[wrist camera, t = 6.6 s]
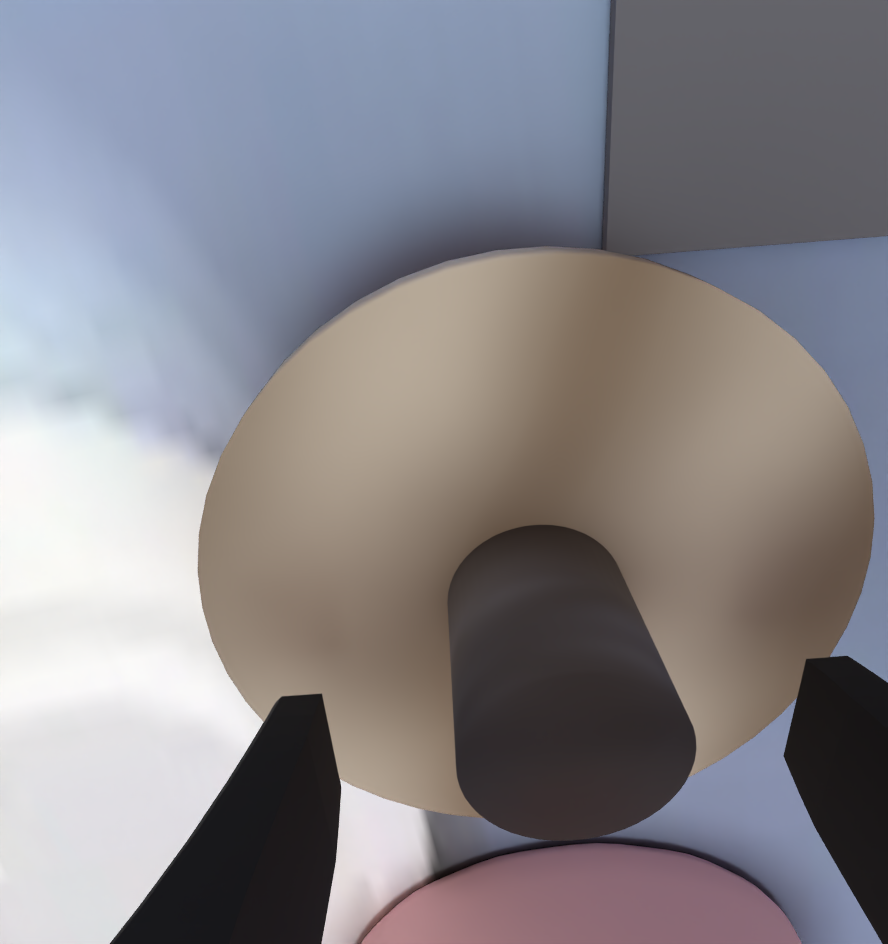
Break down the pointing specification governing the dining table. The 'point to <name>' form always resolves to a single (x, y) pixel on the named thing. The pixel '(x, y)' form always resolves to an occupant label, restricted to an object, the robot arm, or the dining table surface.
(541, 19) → the dining table surface
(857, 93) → the mat
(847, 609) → the lid
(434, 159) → the dining table surface
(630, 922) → the cake
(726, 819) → the dining table surface
